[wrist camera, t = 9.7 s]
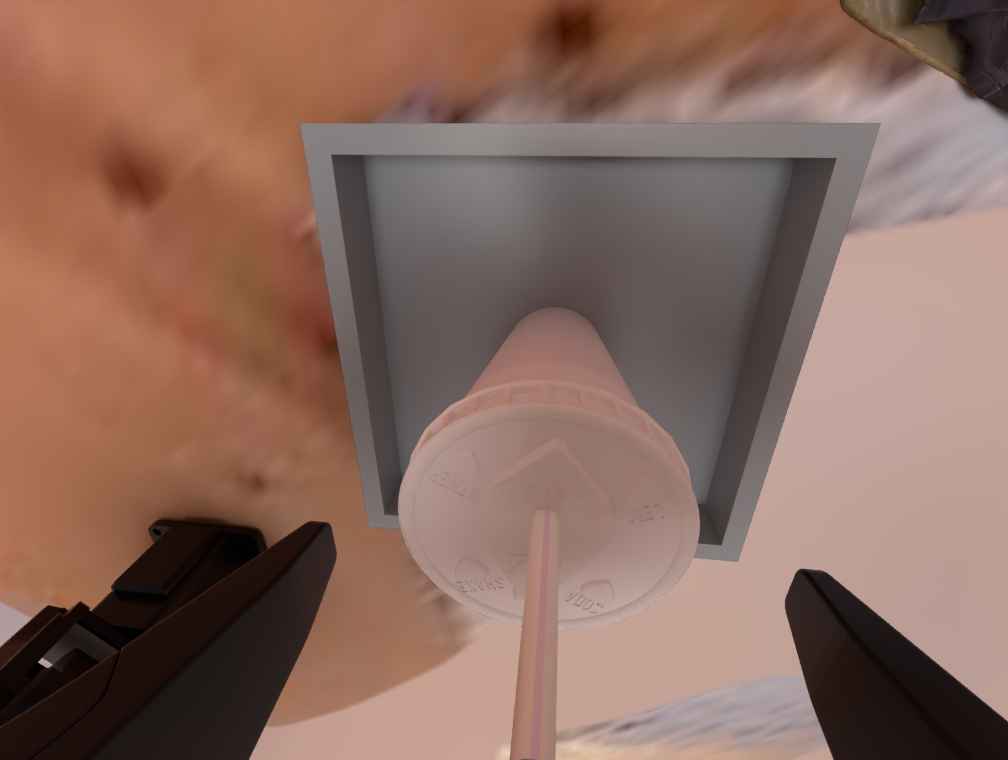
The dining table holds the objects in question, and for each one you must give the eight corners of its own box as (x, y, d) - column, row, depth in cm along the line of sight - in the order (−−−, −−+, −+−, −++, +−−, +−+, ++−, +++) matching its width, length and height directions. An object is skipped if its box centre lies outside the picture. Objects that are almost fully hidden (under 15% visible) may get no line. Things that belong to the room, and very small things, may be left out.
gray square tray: (716, 510, 21) (737, 561, 19) (391, 482, 23) (368, 526, 20) (822, 127, 14) (880, 123, 12) (344, 127, 16) (299, 123, 13)
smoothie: (655, 282, 17) (923, 693, 4) (618, 431, 19) (709, 931, 7) (479, 261, 17) (240, 574, 5) (469, 410, 20) (307, 847, 7)
